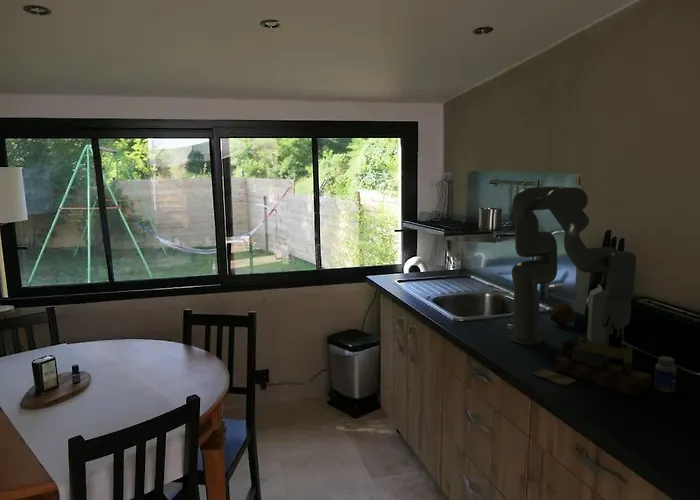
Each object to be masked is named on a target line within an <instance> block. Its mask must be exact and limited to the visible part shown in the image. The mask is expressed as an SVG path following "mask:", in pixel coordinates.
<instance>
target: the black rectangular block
mask: <svg viewBox="0 0 700 500" xmlns="http://www.w3.org/2000/svg"><path fill="white" fill-rule="evenodd" d="M609 357H610V356H607V355H602V354H598V353H593V352H588V351H583V350H579V349H578V345H576V346H575V347H573V348H572V358H571V361H573V362H576V363H579V364H582V365H585V366H589V367H592V368H595V369H598V370H601V371H602V370H604V369H606V368H608V367H609V362H610V359H609Z"/></svg>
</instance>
